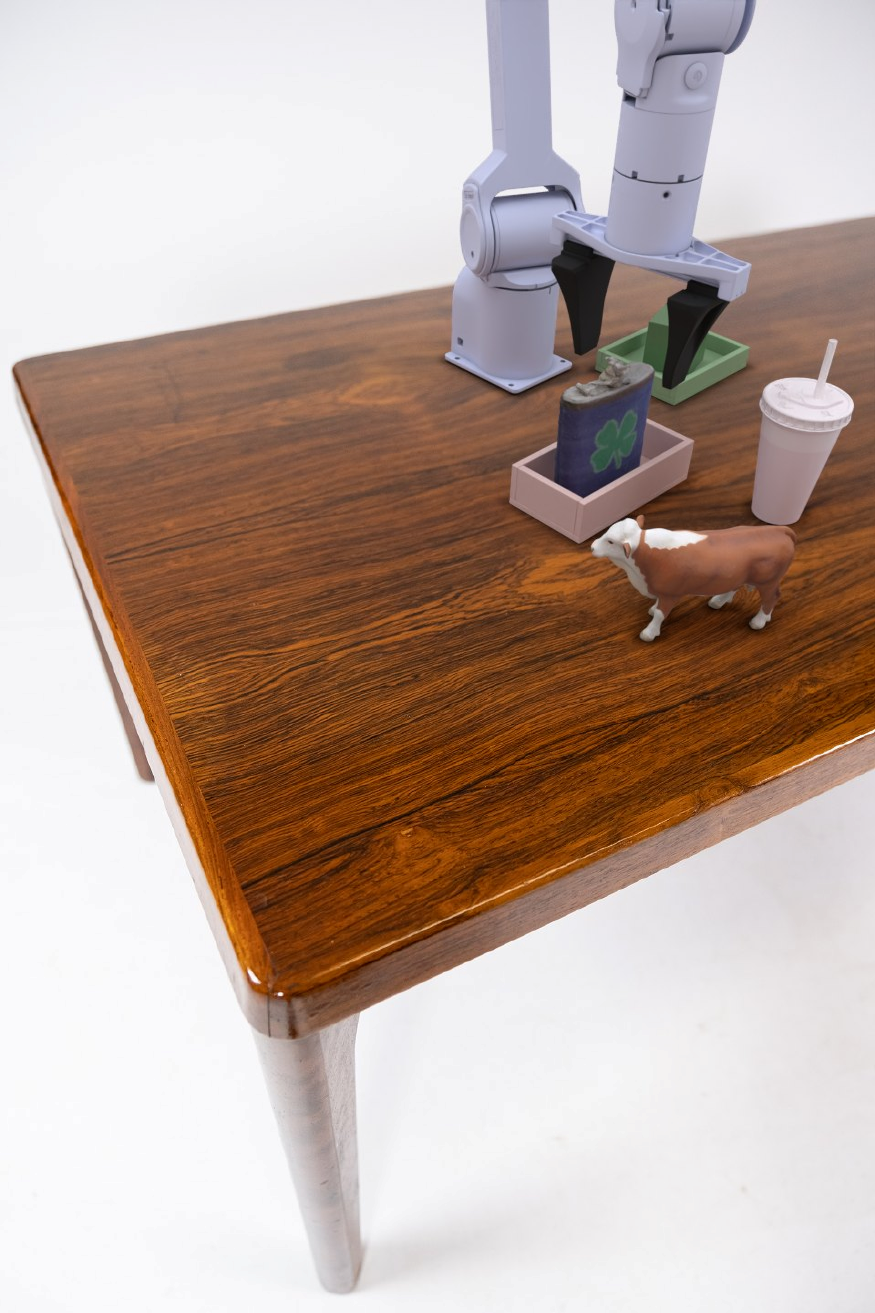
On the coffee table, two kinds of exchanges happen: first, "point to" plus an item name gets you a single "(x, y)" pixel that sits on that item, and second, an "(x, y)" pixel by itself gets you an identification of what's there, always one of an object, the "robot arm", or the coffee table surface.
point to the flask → (602, 427)
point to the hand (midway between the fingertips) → (628, 366)
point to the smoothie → (796, 441)
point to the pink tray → (588, 516)
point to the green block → (664, 343)
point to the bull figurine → (699, 564)
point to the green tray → (715, 366)
